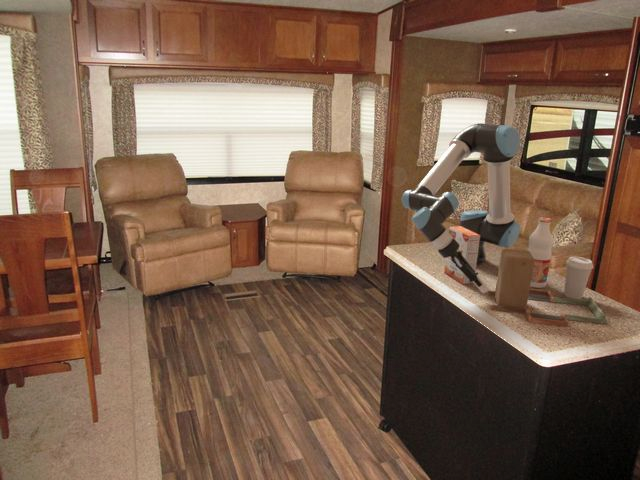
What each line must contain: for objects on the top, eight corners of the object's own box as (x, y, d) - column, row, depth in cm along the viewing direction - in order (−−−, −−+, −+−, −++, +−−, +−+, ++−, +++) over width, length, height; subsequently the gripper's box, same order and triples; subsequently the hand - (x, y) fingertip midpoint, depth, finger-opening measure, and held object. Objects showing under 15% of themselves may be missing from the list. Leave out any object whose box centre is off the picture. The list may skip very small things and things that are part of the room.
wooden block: (526, 311, 178) (535, 258, 172) (497, 307, 180) (505, 255, 174) (521, 300, 188) (530, 250, 182) (493, 297, 189) (501, 247, 184)
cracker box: (443, 272, 213) (448, 226, 207) (455, 271, 215) (461, 225, 209) (461, 284, 200) (468, 235, 194) (474, 283, 202) (481, 234, 196)
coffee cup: (591, 301, 189) (600, 264, 185) (568, 301, 189) (575, 264, 184) (577, 291, 198) (584, 256, 194) (554, 291, 198) (561, 255, 193)
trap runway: (485, 287, 198) (486, 280, 198) (584, 298, 192) (585, 291, 191) (495, 317, 172) (496, 309, 171) (610, 331, 165) (612, 323, 164)
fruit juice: (519, 278, 210) (530, 214, 202) (543, 281, 208) (555, 216, 200) (523, 286, 201) (534, 220, 193) (547, 289, 199) (560, 222, 191)
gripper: (436, 245, 190) (475, 290, 192) (437, 255, 178) (479, 303, 179) (452, 233, 187) (492, 279, 189) (454, 242, 175) (496, 291, 177)
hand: (485, 290), depth 184 cm, fingers closed
